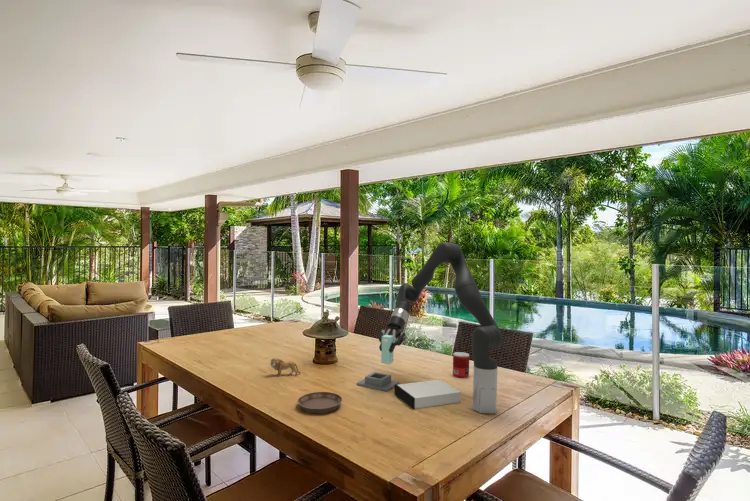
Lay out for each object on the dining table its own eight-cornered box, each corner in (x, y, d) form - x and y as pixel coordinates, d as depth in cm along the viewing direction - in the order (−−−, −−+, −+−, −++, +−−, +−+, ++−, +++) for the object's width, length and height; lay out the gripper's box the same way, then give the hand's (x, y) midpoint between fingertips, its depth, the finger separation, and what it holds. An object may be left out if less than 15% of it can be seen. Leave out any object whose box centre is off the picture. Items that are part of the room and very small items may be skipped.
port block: (399, 383, 198) (399, 375, 198) (387, 391, 188) (387, 382, 188) (369, 378, 206) (369, 369, 206) (356, 385, 195) (356, 376, 195)
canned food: (469, 378, 208) (469, 356, 208) (452, 377, 210) (453, 355, 210) (468, 374, 216) (469, 352, 215) (452, 372, 217) (453, 351, 217)
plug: (393, 362, 192) (393, 335, 192) (389, 364, 189) (389, 337, 188) (385, 360, 194) (386, 334, 194) (381, 362, 191) (381, 336, 190)
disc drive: (394, 395, 184) (394, 384, 184) (438, 389, 193) (439, 378, 193) (412, 410, 168) (413, 398, 168) (460, 403, 177) (461, 391, 177)
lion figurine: (270, 378, 203) (271, 359, 203) (269, 375, 208) (269, 356, 208) (301, 375, 208) (301, 357, 208) (299, 372, 213) (299, 354, 213)
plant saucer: (300, 418, 158) (300, 410, 158) (295, 400, 175) (295, 393, 175) (346, 413, 163) (346, 405, 163) (337, 397, 180) (337, 390, 180)
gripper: (382, 313, 201) (368, 344, 191) (409, 316, 194) (397, 348, 184) (387, 322, 206) (374, 353, 195) (414, 326, 199) (402, 358, 188)
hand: (385, 350), depth 190 cm, fingers closed on plug, 4 cm apart
